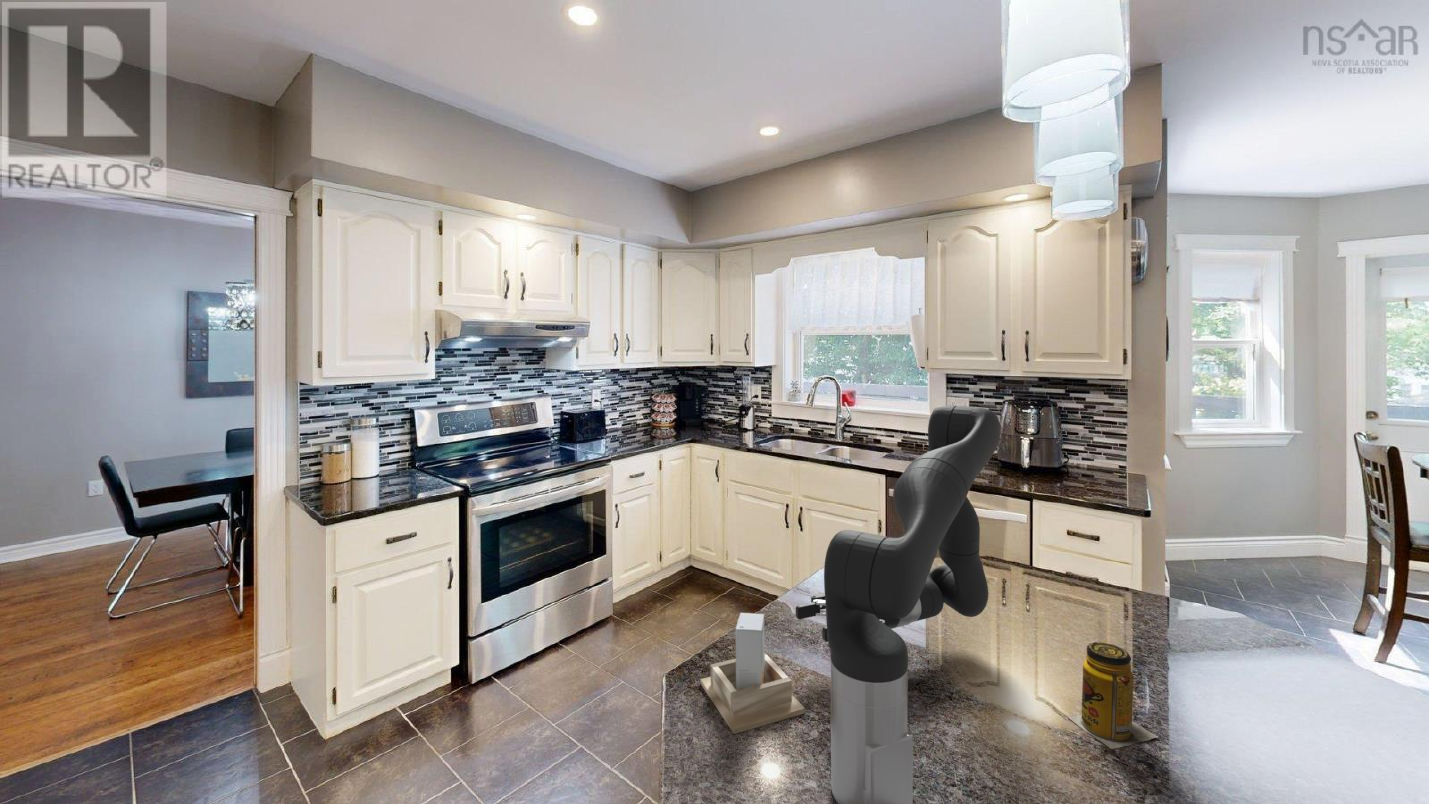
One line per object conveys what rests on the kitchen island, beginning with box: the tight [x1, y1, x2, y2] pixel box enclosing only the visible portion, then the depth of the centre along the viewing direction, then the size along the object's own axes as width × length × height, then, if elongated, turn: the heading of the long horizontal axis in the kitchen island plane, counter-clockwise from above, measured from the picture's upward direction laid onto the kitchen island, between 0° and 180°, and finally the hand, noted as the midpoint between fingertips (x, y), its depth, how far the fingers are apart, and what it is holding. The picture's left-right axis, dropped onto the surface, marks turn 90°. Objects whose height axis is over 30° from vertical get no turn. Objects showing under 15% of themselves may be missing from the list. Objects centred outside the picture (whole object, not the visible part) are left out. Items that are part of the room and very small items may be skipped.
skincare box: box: [734, 612, 766, 691], centre depth 91 cm, size 6×4×12 cm
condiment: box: [1067, 641, 1159, 750], centre depth 82 cm, size 7×8×12 cm
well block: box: [699, 652, 806, 735], centre depth 91 cm, size 14×12×4 cm
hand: (809, 623), depth 95 cm, fingers open, 8 cm apart
